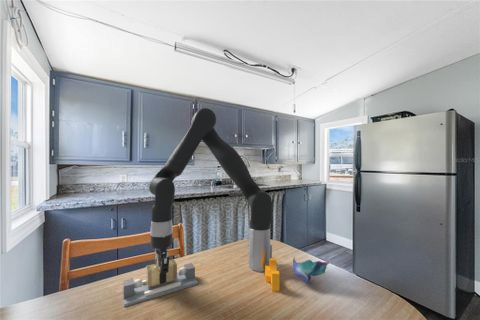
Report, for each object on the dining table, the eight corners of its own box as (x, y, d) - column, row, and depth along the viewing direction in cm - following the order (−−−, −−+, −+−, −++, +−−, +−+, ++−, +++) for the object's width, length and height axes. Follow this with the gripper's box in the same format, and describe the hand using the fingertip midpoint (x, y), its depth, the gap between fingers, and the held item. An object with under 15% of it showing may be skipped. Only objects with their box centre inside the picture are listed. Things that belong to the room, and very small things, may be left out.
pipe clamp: (265, 273, 86) (265, 257, 86) (275, 273, 86) (275, 258, 86) (267, 291, 74) (267, 273, 74) (279, 292, 74) (279, 273, 74)
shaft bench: (189, 271, 86) (189, 259, 86) (197, 284, 78) (197, 270, 78) (122, 290, 74) (123, 276, 74) (124, 307, 65) (124, 291, 65)
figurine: (332, 284, 78) (332, 260, 78) (315, 297, 71) (315, 271, 71) (302, 270, 88) (302, 249, 88) (284, 279, 81) (284, 256, 81)
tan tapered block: (147, 287, 71) (147, 271, 71) (145, 281, 75) (145, 265, 75) (176, 279, 77) (177, 264, 77) (173, 273, 80) (173, 258, 80)
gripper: (147, 228, 80) (147, 272, 80) (153, 240, 68) (153, 293, 68) (167, 225, 84) (167, 267, 84) (177, 236, 72) (177, 286, 72)
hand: (161, 278), depth 76 cm, fingers closed on tan tapered block, 4 cm apart
